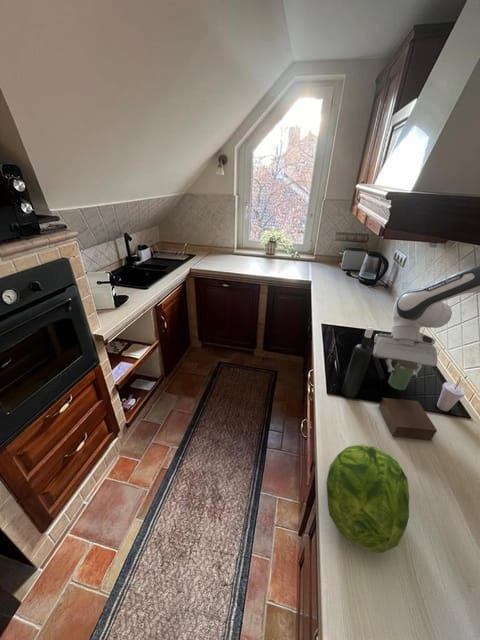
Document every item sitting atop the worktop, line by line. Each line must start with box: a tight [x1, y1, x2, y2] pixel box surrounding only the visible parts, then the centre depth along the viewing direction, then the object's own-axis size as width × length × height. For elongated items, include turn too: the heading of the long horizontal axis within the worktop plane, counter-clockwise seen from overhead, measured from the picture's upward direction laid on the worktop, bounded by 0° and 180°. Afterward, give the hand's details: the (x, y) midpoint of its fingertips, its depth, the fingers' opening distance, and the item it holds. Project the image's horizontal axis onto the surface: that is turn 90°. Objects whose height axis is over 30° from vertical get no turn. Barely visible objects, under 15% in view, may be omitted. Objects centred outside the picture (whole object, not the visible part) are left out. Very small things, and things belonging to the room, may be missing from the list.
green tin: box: [387, 359, 417, 391], centre depth 92 cm, size 6×6×10 cm
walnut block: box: [378, 397, 438, 441], centre depth 86 cm, size 12×12×5 cm
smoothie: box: [436, 378, 467, 412], centre depth 90 cm, size 6×6×14 cm
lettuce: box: [325, 444, 410, 553], centre depth 62 cm, size 18×23×19 cm
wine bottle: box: [340, 325, 375, 399], centre depth 91 cm, size 6×6×30 cm
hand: (402, 374), depth 91 cm, fingers closed on green tin, 6 cm apart
